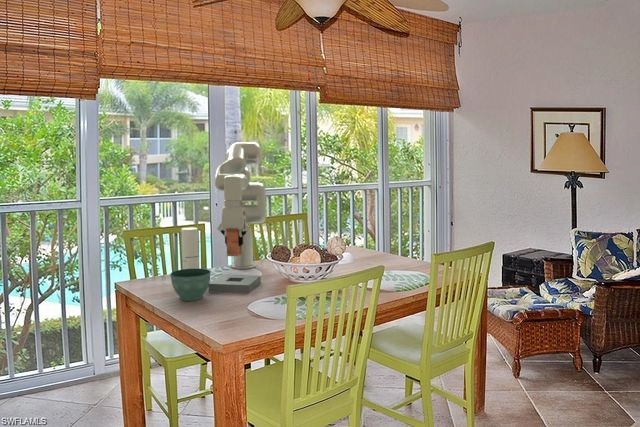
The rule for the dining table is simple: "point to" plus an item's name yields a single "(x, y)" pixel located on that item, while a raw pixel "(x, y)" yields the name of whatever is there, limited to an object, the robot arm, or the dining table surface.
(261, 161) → the robot arm
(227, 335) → the dining table surface
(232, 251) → the peg
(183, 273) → the green bowl
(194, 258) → the cylindrical container
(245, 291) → the socket block
